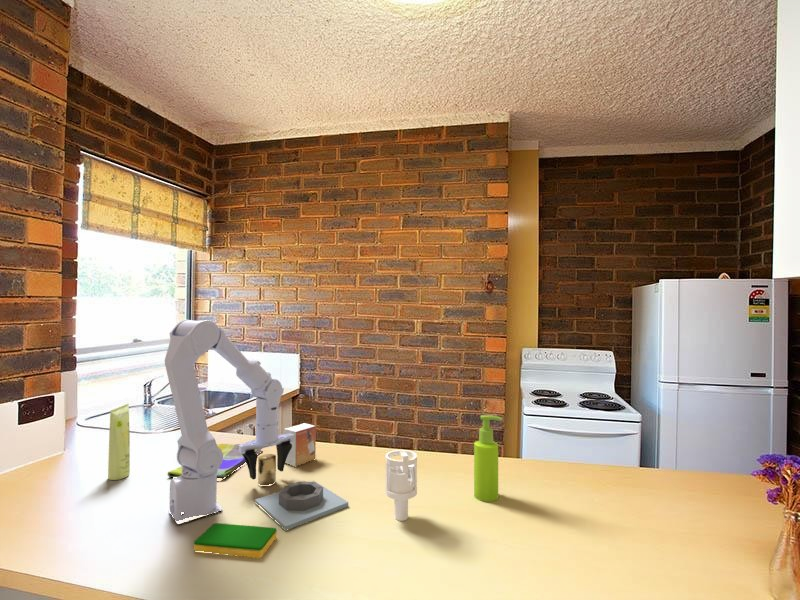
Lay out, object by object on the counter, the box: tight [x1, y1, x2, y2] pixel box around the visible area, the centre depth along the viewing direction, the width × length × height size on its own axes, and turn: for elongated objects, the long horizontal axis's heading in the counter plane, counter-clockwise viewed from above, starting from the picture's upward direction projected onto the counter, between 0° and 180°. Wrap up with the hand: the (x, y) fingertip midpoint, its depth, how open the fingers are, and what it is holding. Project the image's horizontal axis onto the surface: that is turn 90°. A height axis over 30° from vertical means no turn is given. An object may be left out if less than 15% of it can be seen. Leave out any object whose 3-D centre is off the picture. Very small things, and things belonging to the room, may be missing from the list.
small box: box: [283, 422, 317, 467], centre depth 125 cm, size 8×6×10 cm
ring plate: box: [254, 480, 349, 531], centre depth 97 cm, size 16×16×4 cm
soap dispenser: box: [473, 414, 503, 503], centre depth 102 cm, size 6×7×20 cm
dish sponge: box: [193, 522, 277, 559], centre depth 81 cm, size 7×14×2 cm, turn 82°
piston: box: [257, 453, 277, 485], centre depth 109 cm, size 4×4×7 cm
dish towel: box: [167, 443, 263, 478], centre depth 123 cm, size 18×24×3 cm
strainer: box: [385, 449, 418, 522], centre depth 92 cm, size 7×7×15 cm
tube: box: [107, 402, 131, 481], centre depth 113 cm, size 6×5×20 cm
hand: (267, 474), depth 109 cm, fingers open, 7 cm apart
